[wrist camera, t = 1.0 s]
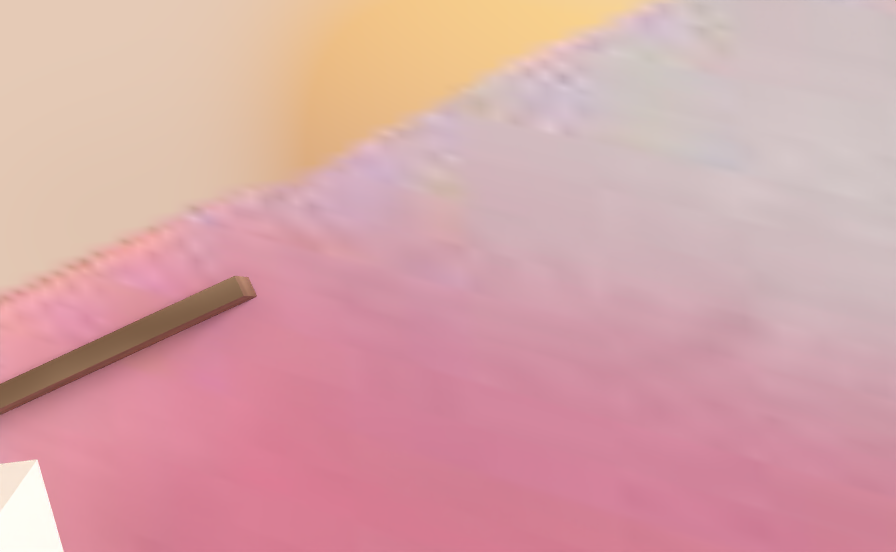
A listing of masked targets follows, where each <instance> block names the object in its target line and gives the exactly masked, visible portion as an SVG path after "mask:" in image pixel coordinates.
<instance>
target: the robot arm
mask: <svg viewBox="0 0 896 552" xmlns="http://www.w3.org/2000/svg"><path fill="white" fill-rule="evenodd" d="M0 552H63V548H62V544H61V541H60V537H59V534H58V530H57V527H56V523H55V520H54V516H53V513H52V509H51V506H50V502H49V499H48V495H47V492H46V488H45V485H44V481H43V478H42V474H41V471H40V467H39V464H38V460H29V461H20V462H12V463H4V464H0Z"/></svg>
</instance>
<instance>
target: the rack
mask: <svg viewBox="0 0 896 552" xmlns="http://www.w3.org/2000/svg"><path fill="white" fill-rule="evenodd" d="M256 296H257V295H256V293H255V291H254V289H253V287H252V284H251V282H250V280H249V278H248V277H240V276H233V277H231V278H229V279H227V280H225V281H222V282H220V283H218V284H216V285H214V286H212V287H210V288H207V289H205V290H203V291H201V292H199V293H197V294H194V295H192V296H190V297H188V298H186V299H184V300H181V301H179V302H177V303H175V304H173V305H171V306H168V307H166V308H164V309H162V310H160V311H158V312H155V313H153V314H151V315H149V316H147V317H145V318H142V319H140V320H138V321H136V322H134V323H132V324H129V325H127V326H125V327H123V328H121V329H119V330H116V331H114V332H112V333H110V334H108V335H106V336H103V337H101V338H99V339H97V340H95V341H93V342H90V343H88V344H86V345H84V346H82V347H80V348H77V349H75V350H73V351H71V352H69V353H67V354H64V355H62V356H60V357H58V358H56V359H54V360H51V361H49V362H47V363H45V364H43V365H41V366H39V367H36V368H34V369H32V370H30V371H28V372H26V373H23V374H21V375H19V376H17V377H15V378H13V379H10V380H8V381H6V382H4V383H2V384H0V415H1V414H3V413H5V412H7V411H9V410H12V409H14V408H16V407H18V406H20V405H22V404H25V403H27V402H29V401H31V400H33V399H35V398H38V397H40V396H42V395H44V394H46V393H48V392H51V391H53V390H55V389H57V388H59V387H61V386H64V385H66V384H68V383H70V382H72V381H74V380H77V379H79V378H81V377H83V376H85V375H87V374H90V373H92V372H94V371H96V370H98V369H100V368H103V367H105V366H107V365H109V364H111V363H113V362H116V361H118V360H120V359H122V358H124V357H126V356H128V355H131V354H133V353H135V352H137V351H139V350H141V349H144V348H146V347H148V346H150V345H152V344H154V343H157V342H159V341H161V340H163V339H165V338H167V337H170V336H172V335H174V334H176V333H178V332H180V331H183V330H185V329H187V328H189V327H191V326H193V325H196V324H198V323H200V322H202V321H204V320H206V319H209V318H211V317H213V316H215V315H217V314H219V313H222V312H224V311H226V310H228V309H230V308H232V307H235V306H237V305H239V304H241V303H243V302H245V301H248V300H250V299H252V298H254V297H256Z"/></svg>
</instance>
